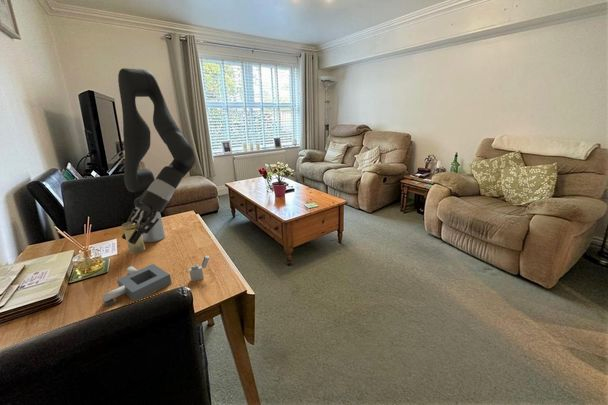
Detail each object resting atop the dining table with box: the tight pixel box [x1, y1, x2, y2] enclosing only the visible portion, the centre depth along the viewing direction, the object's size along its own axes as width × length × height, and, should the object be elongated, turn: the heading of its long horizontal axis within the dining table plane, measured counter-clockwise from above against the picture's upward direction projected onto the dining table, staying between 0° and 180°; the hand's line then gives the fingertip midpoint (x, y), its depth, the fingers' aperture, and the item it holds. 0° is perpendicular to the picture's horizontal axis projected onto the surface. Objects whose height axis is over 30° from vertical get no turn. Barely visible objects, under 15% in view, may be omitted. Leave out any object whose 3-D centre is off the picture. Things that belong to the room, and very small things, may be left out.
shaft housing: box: [101, 263, 172, 307], centre depth 91 cm, size 17×18×4 cm
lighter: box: [188, 255, 210, 282], centre depth 95 cm, size 7×2×8 cm, turn 115°
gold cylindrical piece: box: [121, 220, 146, 255], centre depth 87 cm, size 5×5×10 cm
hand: (128, 240), depth 86 cm, fingers closed on gold cylindrical piece, 4 cm apart
